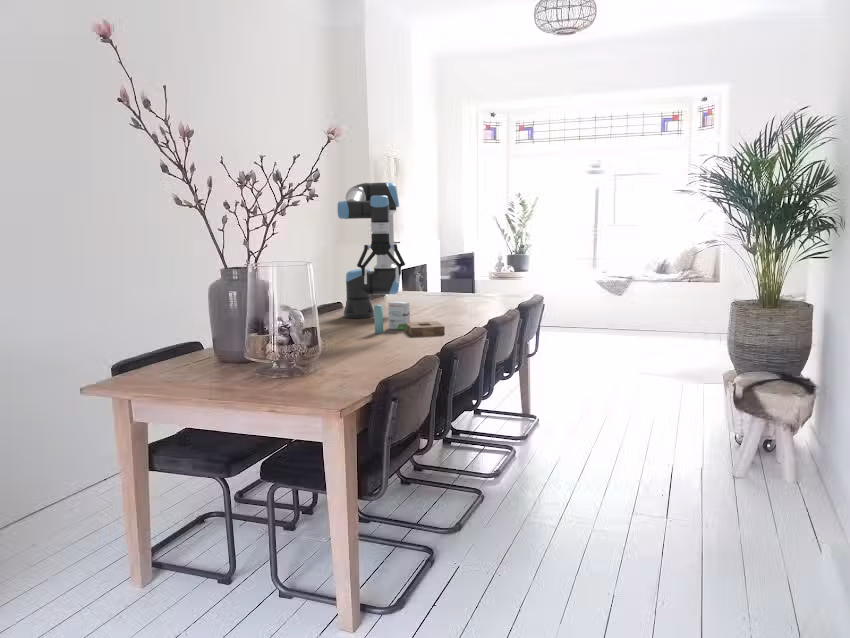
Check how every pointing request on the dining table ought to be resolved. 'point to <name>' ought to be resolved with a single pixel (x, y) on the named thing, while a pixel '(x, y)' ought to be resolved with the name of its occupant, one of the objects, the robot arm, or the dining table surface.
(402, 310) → the ink box
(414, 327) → the socket
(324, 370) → the dining table surface
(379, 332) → the peg
